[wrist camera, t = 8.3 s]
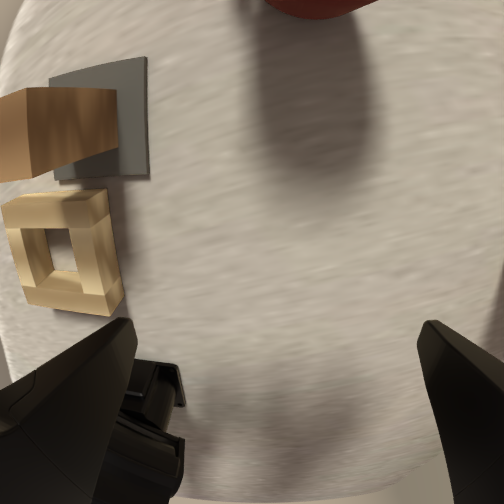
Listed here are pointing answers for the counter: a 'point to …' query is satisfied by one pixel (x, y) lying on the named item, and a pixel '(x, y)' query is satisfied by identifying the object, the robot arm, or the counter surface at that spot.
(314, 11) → the mug
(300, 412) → the counter surface
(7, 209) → the holder
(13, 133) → the peg
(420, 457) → the counter surface
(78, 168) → the mat
